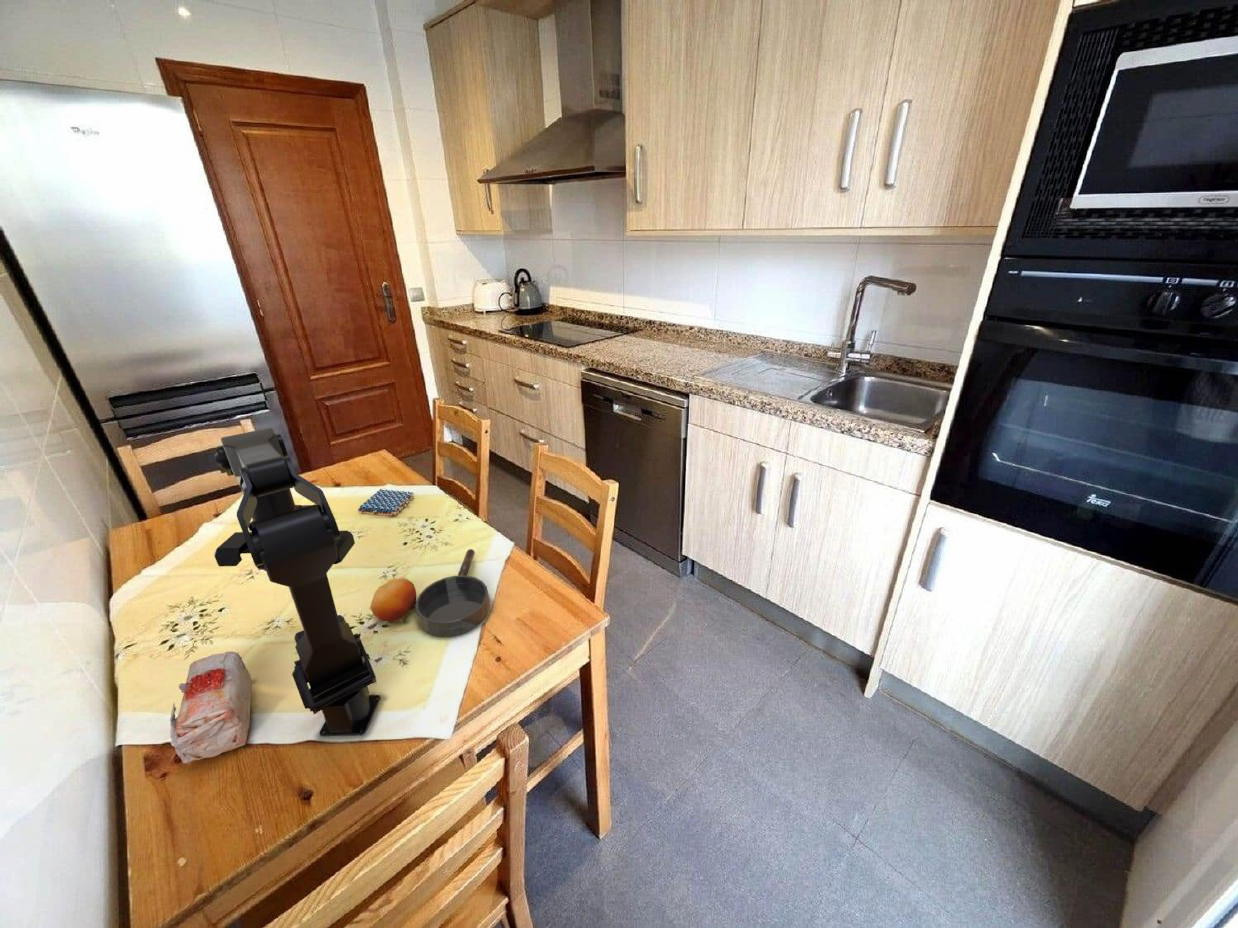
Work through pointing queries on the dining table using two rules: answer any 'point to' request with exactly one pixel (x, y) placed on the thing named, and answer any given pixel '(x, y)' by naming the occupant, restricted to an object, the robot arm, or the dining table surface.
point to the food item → (212, 708)
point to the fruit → (394, 600)
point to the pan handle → (466, 563)
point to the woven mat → (386, 502)
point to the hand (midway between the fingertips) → (301, 589)
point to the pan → (452, 606)
